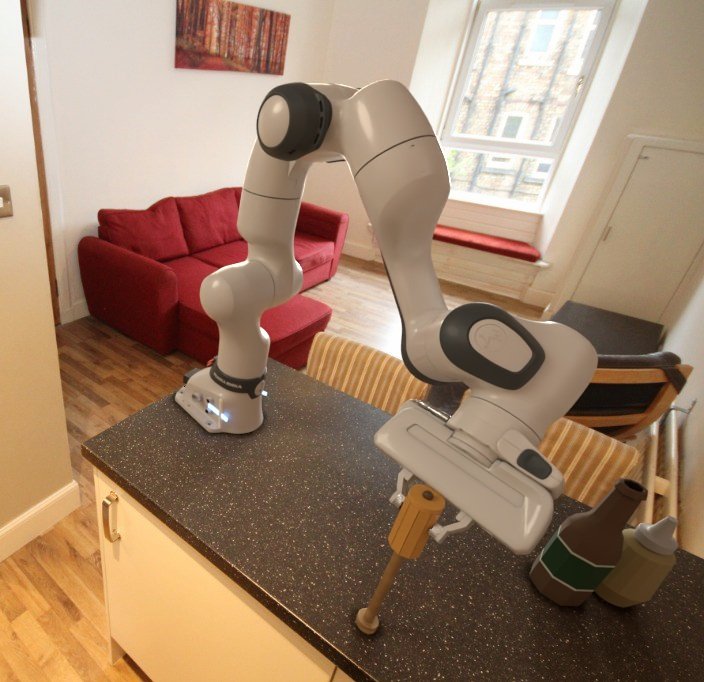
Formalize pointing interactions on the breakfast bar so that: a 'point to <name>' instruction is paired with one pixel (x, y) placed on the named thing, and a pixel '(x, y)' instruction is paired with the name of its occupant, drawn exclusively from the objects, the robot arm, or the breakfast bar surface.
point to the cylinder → (415, 521)
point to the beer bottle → (586, 546)
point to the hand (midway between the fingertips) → (413, 522)
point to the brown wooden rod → (379, 596)
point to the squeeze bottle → (641, 564)
